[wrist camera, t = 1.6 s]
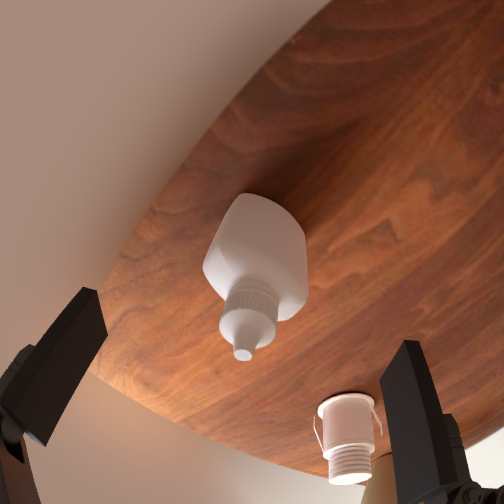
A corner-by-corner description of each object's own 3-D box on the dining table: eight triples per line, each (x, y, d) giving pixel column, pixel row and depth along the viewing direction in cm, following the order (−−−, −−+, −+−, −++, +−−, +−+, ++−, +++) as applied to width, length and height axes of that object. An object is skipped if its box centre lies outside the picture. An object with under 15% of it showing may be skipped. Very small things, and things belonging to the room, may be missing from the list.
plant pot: (338, 464, 43) (337, 540, 29) (411, 435, 36) (422, 521, 23) (376, 474, 47) (379, 537, 33) (439, 449, 40) (449, 517, 26)
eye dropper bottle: (256, 264, 23) (230, 400, 13) (220, 201, 21) (155, 317, 11) (310, 244, 22) (320, 382, 12) (277, 175, 20) (262, 282, 9)
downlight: (380, 386, 30) (392, 463, 21) (375, 414, 33) (382, 481, 24) (311, 395, 31) (310, 474, 23) (315, 422, 35) (314, 489, 26)
